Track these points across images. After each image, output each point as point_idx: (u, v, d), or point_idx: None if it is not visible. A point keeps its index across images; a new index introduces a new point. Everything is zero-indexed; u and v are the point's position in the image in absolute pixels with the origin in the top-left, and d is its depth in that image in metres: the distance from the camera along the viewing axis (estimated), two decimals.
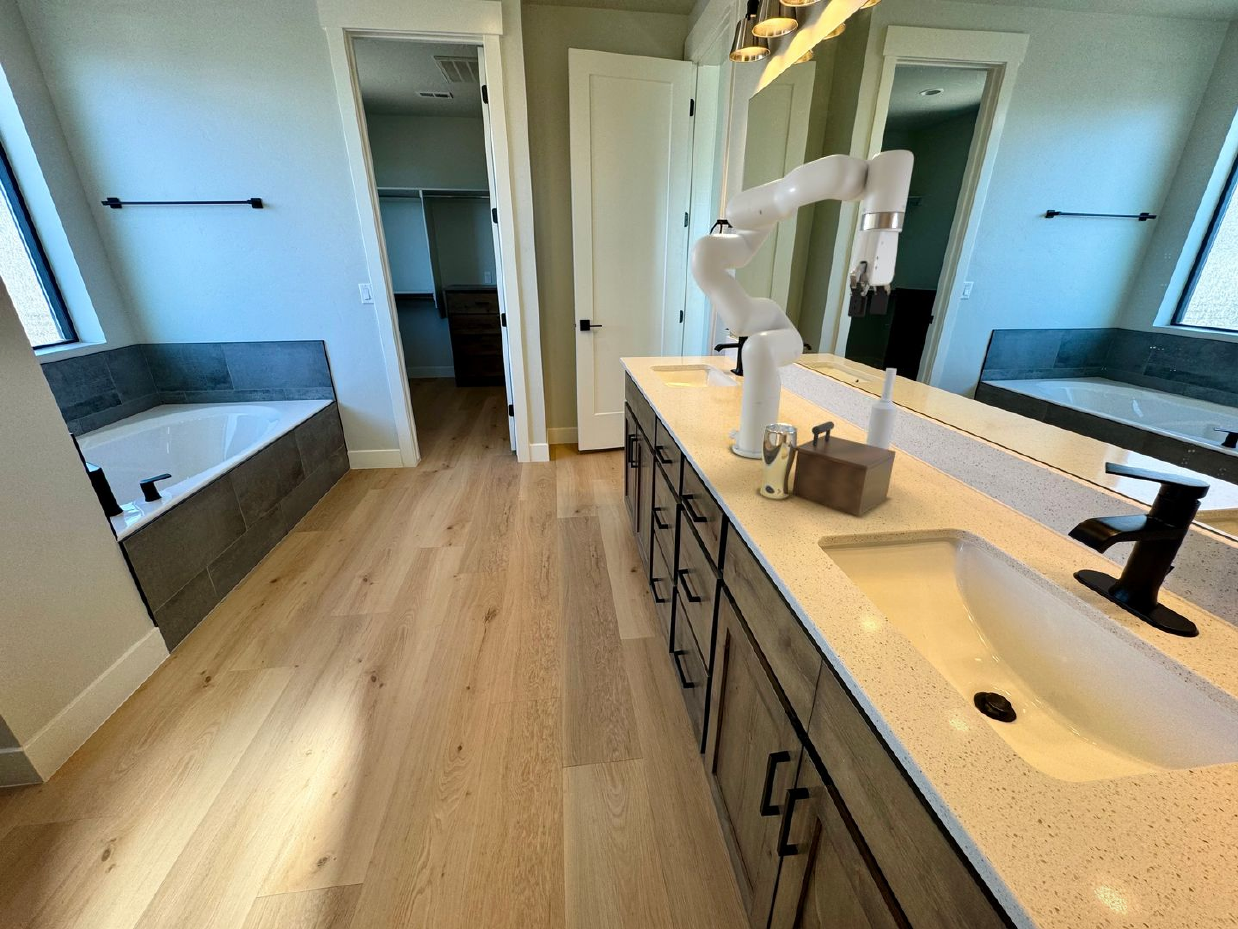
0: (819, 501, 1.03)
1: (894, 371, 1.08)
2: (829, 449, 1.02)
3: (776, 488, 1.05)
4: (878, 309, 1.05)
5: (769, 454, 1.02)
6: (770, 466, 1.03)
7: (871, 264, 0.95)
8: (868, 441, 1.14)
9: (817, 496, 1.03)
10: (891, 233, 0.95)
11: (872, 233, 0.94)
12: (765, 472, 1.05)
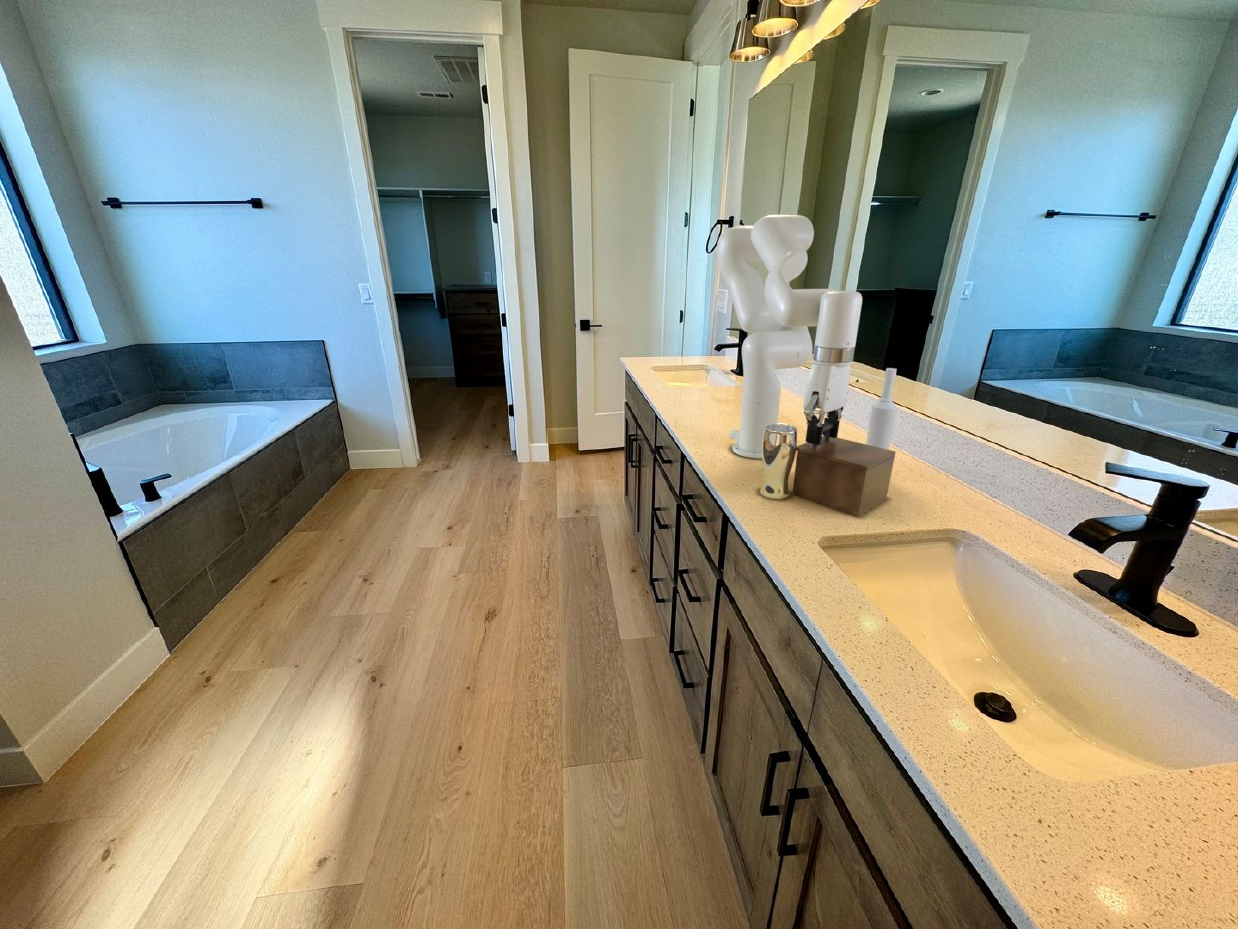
0: (819, 501, 1.03)
1: (894, 371, 1.08)
2: (829, 449, 1.02)
3: (776, 488, 1.05)
4: (830, 433, 1.07)
5: (769, 454, 1.02)
6: (770, 466, 1.03)
7: (822, 395, 0.98)
8: (868, 441, 1.14)
9: (817, 496, 1.03)
10: (842, 366, 0.98)
11: (823, 367, 0.97)
12: (765, 472, 1.05)
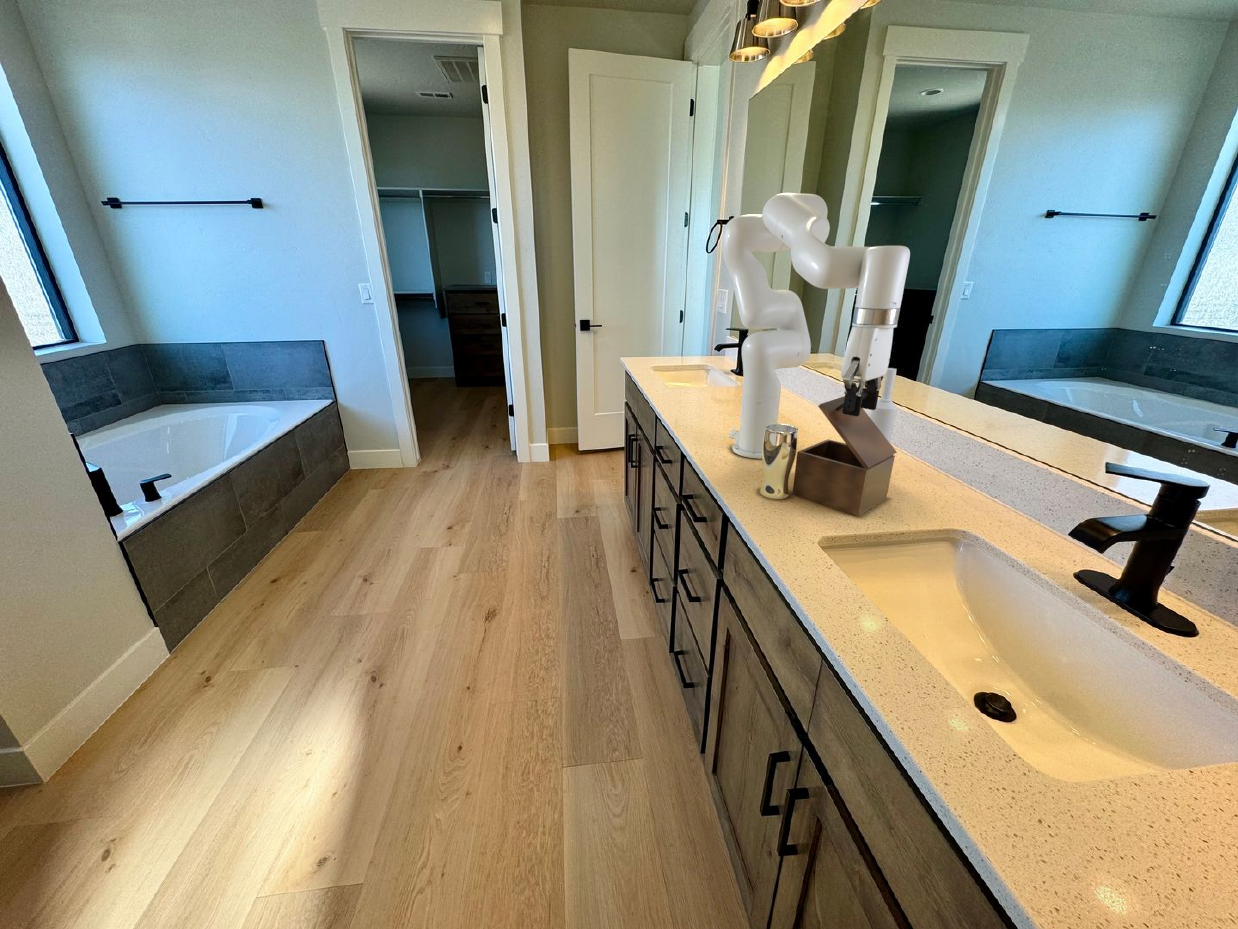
0: (819, 501, 1.03)
1: (894, 371, 1.08)
2: (847, 423, 0.98)
3: (776, 488, 1.05)
4: (868, 404, 0.99)
5: (769, 454, 1.02)
6: (770, 466, 1.03)
7: (864, 361, 0.90)
8: None
9: (817, 496, 1.03)
10: (885, 329, 0.90)
11: (865, 329, 0.89)
12: (765, 472, 1.05)
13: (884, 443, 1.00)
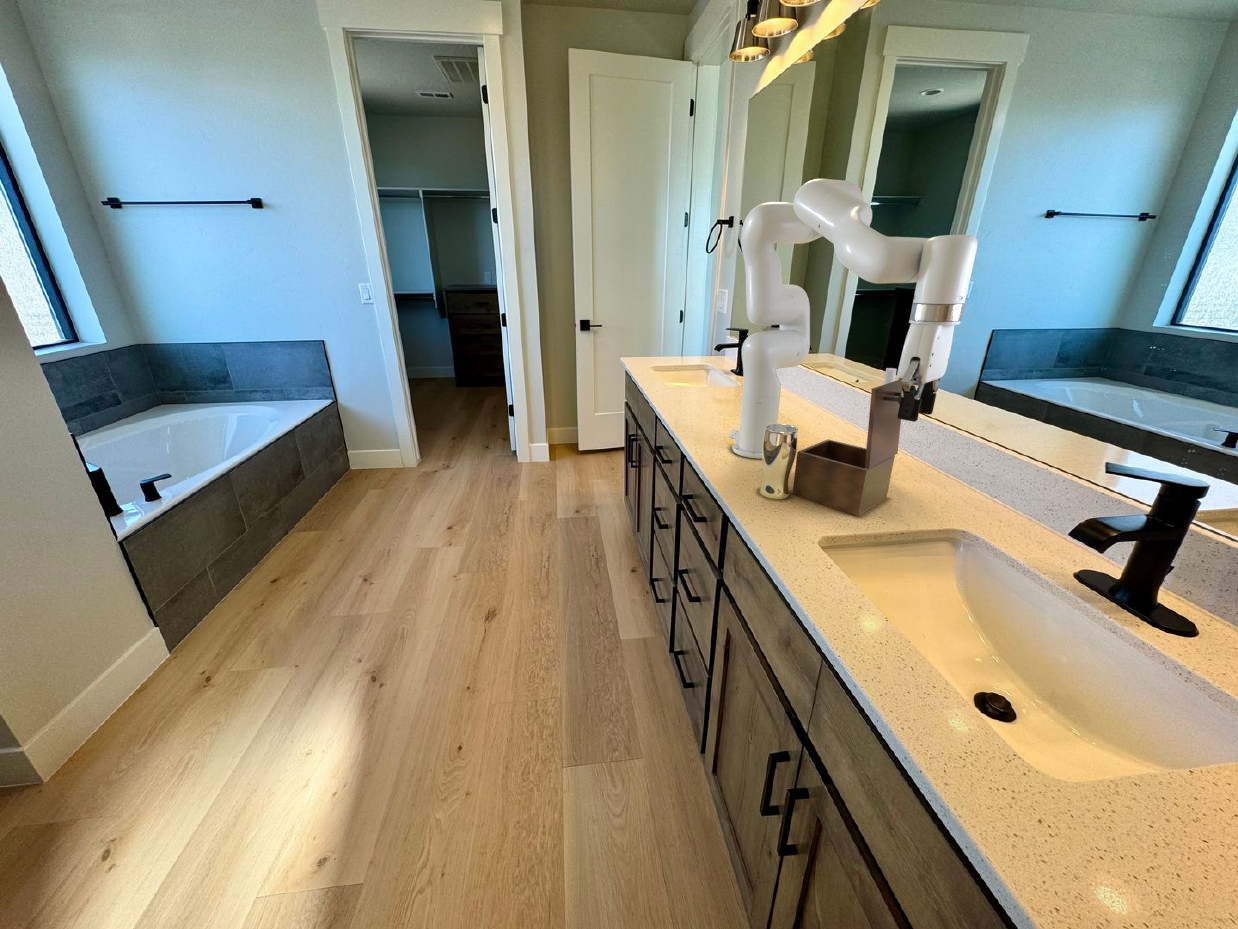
0: (819, 501, 1.03)
1: (894, 371, 1.08)
2: (882, 415, 0.92)
3: (776, 488, 1.05)
4: (923, 408, 0.92)
5: (769, 454, 1.02)
6: (770, 466, 1.03)
7: (925, 361, 0.83)
8: None
9: (817, 496, 1.03)
10: (948, 326, 0.82)
11: (927, 327, 0.82)
12: (765, 472, 1.05)
13: (894, 442, 0.99)
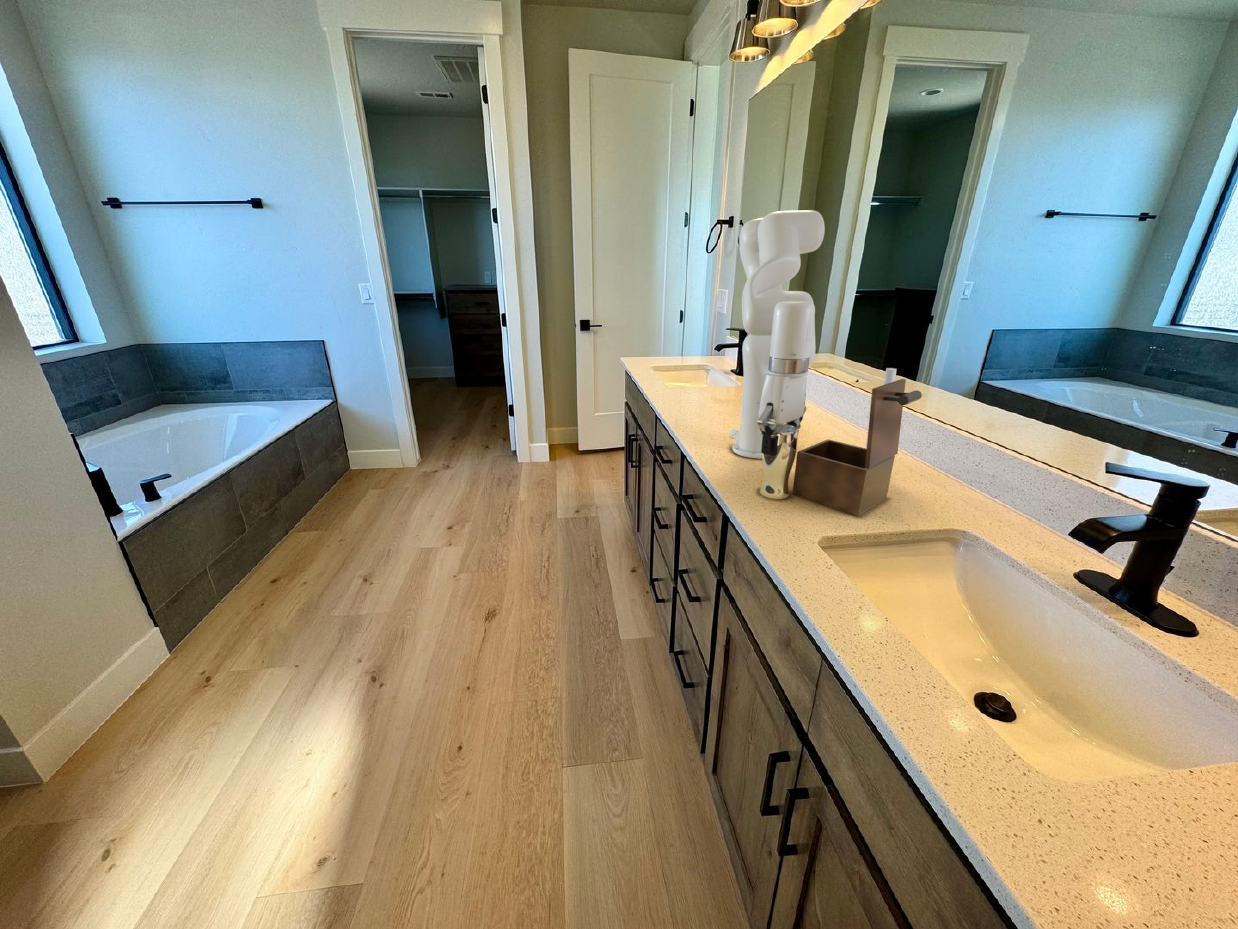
0: (819, 501, 1.03)
1: (894, 371, 1.08)
2: (882, 415, 0.92)
3: (776, 488, 1.05)
4: None
5: None
6: (770, 466, 1.03)
7: (777, 407, 0.96)
8: None
9: (817, 496, 1.03)
10: (796, 376, 0.96)
11: (777, 378, 0.95)
12: (765, 472, 1.05)
13: (894, 442, 0.99)
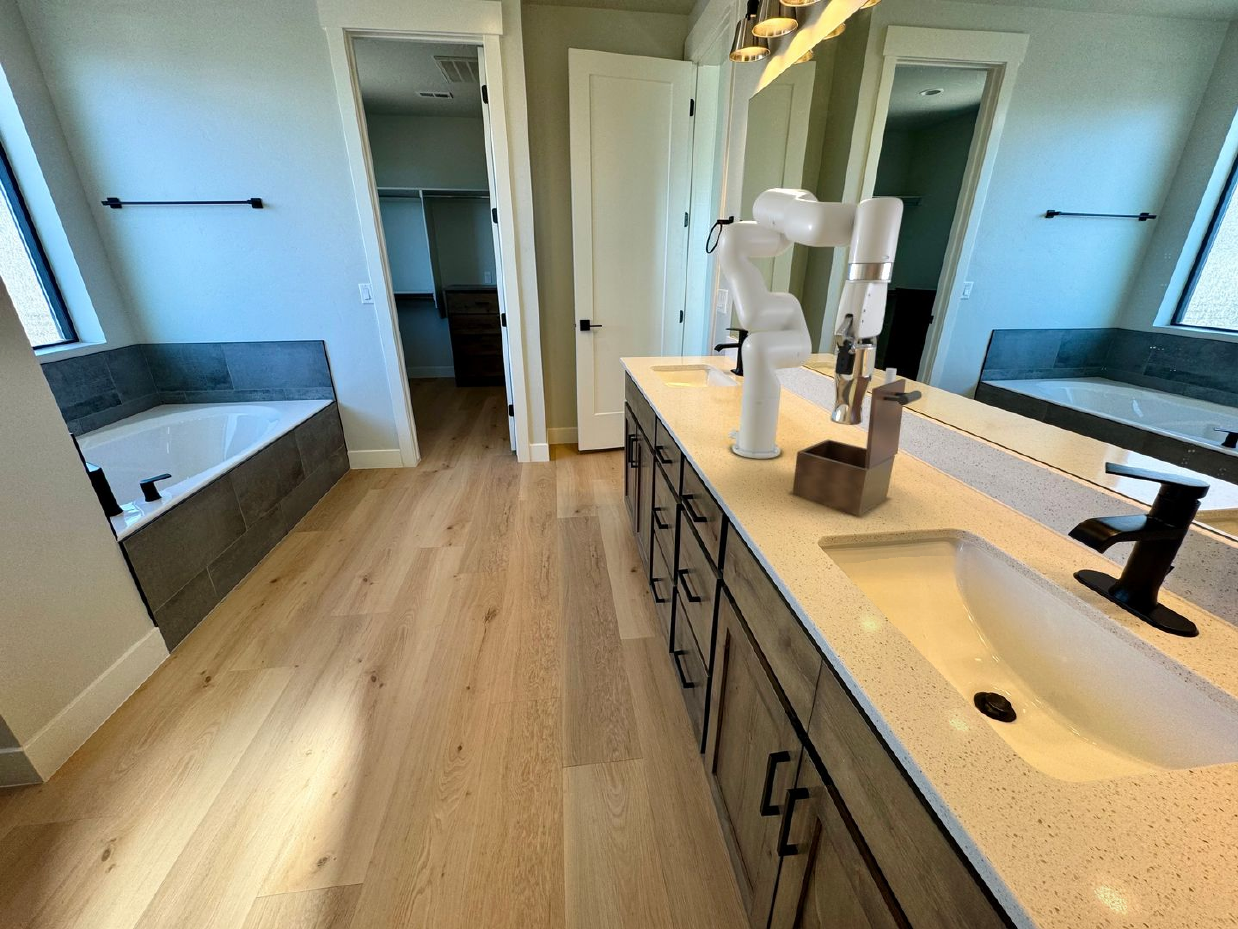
0: (819, 501, 1.03)
1: (894, 371, 1.08)
2: (882, 415, 0.92)
3: (850, 413, 0.97)
4: None
5: None
6: (845, 388, 0.95)
7: (857, 317, 0.89)
8: None
9: (817, 496, 1.03)
10: (879, 284, 0.88)
11: (858, 285, 0.88)
12: (838, 396, 0.97)
13: (894, 442, 0.99)
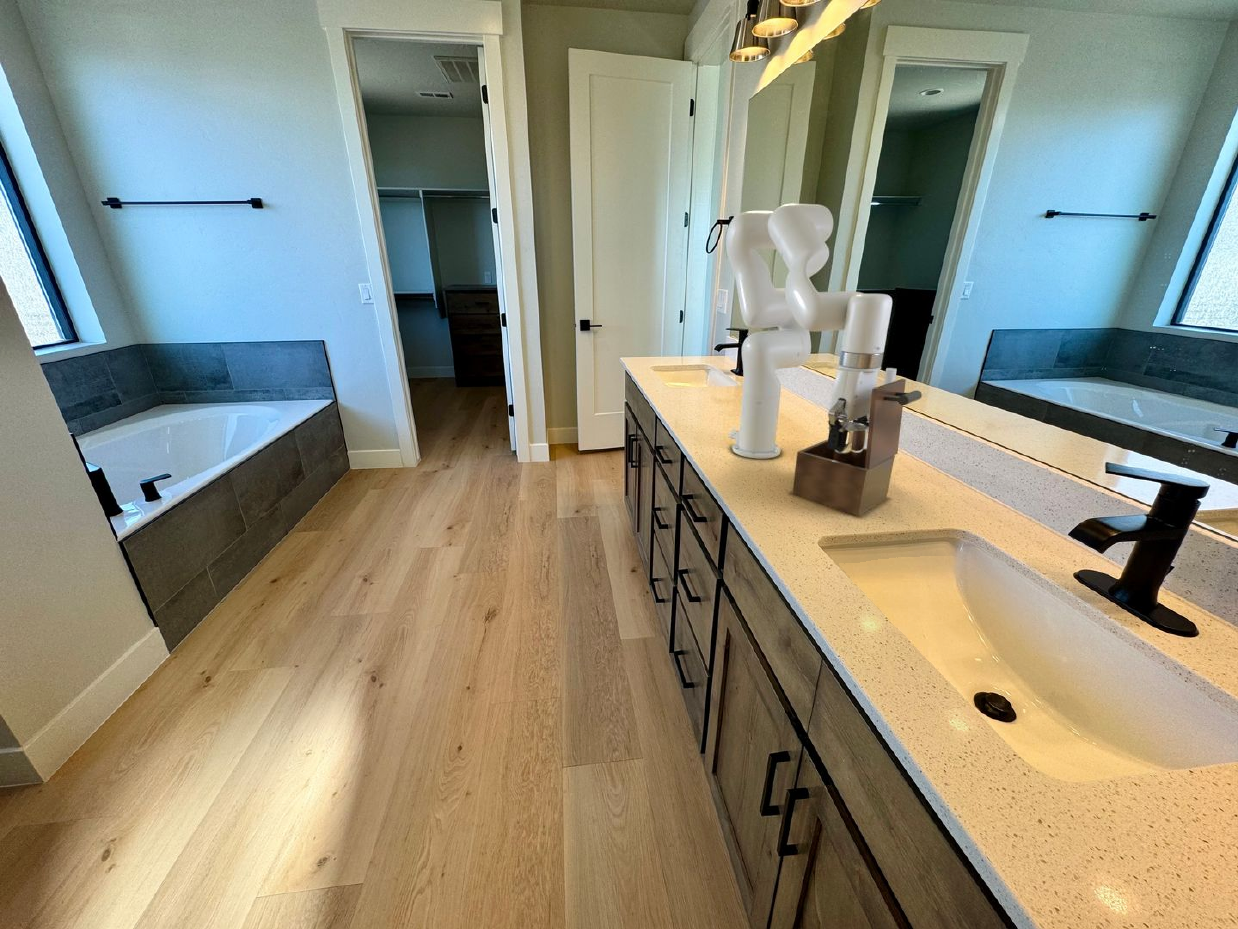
0: (819, 501, 1.03)
1: (894, 371, 1.08)
2: (882, 415, 0.92)
3: None
4: None
5: (838, 453, 1.00)
6: None
7: (849, 402, 0.94)
8: None
9: (817, 496, 1.03)
10: (870, 371, 0.94)
11: (850, 373, 0.93)
12: None
13: (894, 442, 0.99)
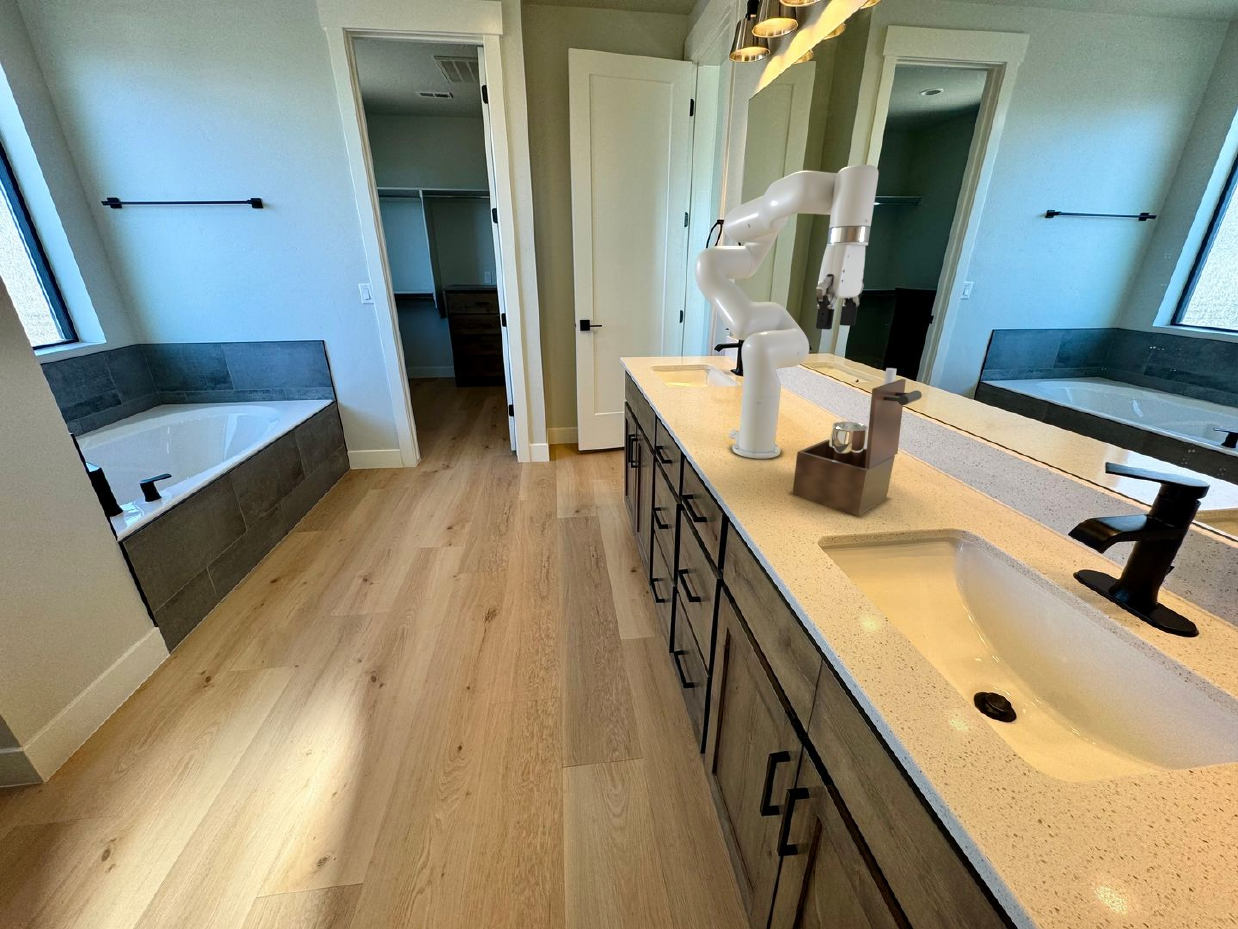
0: (819, 501, 1.03)
1: (894, 371, 1.08)
2: (882, 415, 0.92)
3: None
4: (847, 321, 1.06)
5: (838, 453, 1.00)
6: None
7: (837, 277, 0.96)
8: None
9: (817, 496, 1.03)
10: (857, 246, 0.96)
11: (838, 247, 0.95)
12: None
13: (894, 442, 0.99)
